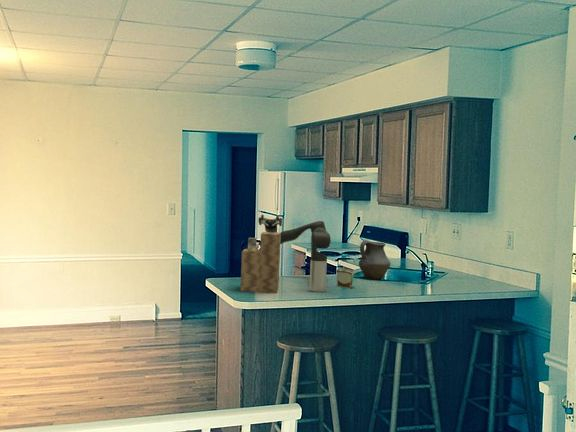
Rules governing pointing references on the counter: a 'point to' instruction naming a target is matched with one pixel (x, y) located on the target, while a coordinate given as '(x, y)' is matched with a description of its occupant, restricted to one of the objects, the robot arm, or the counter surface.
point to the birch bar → (252, 244)
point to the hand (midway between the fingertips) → (269, 216)
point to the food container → (344, 277)
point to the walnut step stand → (262, 265)
